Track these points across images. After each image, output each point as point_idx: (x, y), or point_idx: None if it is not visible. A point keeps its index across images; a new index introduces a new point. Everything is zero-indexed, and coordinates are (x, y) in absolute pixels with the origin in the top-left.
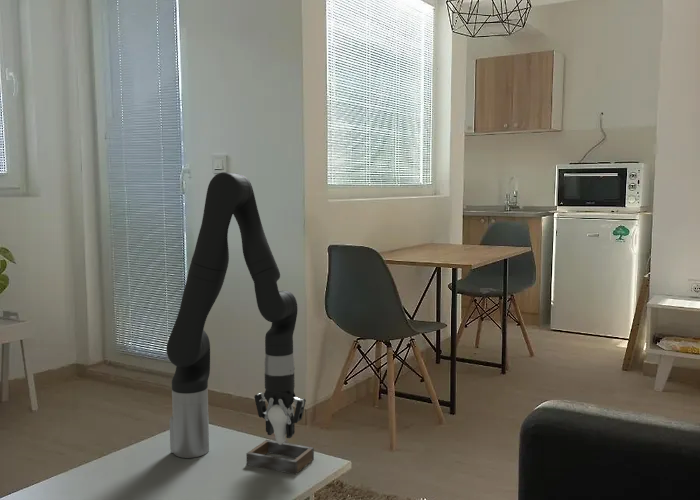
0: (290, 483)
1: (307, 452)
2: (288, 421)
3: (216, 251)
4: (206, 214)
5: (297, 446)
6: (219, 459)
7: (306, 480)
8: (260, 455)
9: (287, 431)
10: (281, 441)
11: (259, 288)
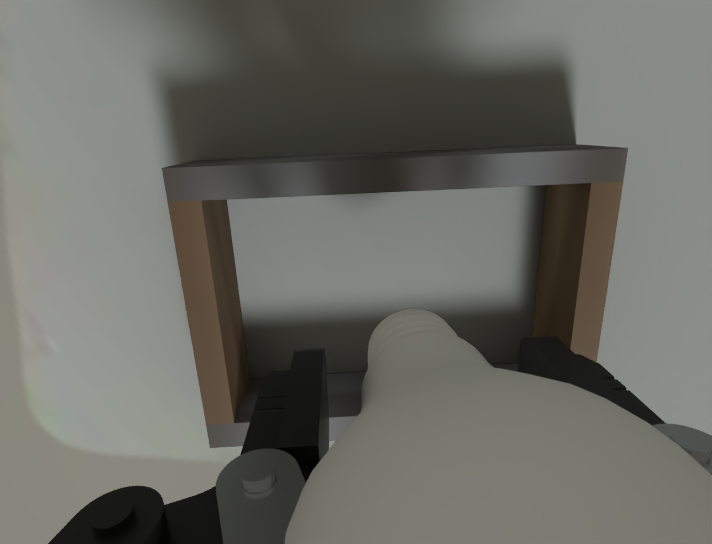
0: (131, 4)
1: (198, 365)
2: (259, 480)
3: None
4: None
5: None
6: None
7: (67, 105)
8: (498, 161)
9: (306, 385)
10: (383, 326)
11: None
